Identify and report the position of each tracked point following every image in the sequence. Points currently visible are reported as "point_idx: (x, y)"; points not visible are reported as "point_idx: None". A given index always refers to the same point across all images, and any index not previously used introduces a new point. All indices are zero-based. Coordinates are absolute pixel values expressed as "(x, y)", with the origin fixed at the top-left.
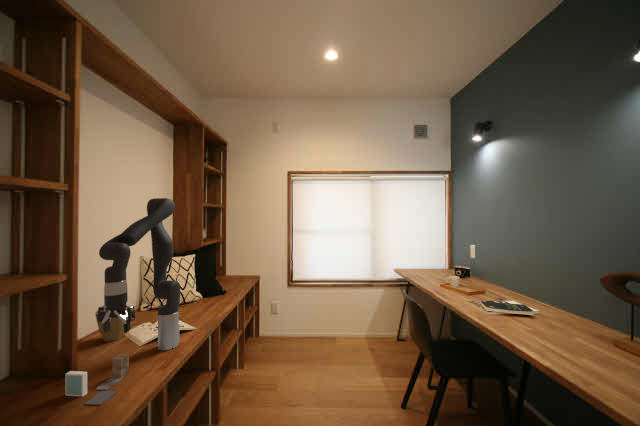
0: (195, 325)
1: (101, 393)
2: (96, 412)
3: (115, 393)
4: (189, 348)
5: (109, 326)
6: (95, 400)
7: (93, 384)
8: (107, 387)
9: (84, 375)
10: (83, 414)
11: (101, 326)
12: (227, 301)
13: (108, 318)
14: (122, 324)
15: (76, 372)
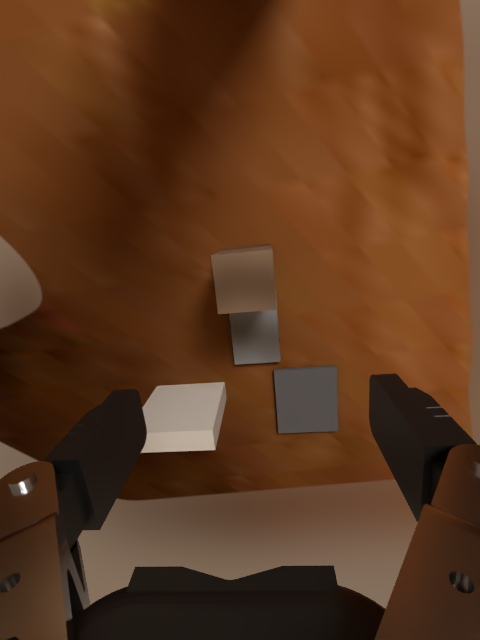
0: None
1: (285, 384)
2: (355, 454)
3: (336, 372)
4: None
5: (116, 425)
6: (301, 417)
7: (190, 335)
8: (277, 355)
9: (216, 437)
10: (321, 464)
11: None
12: None
13: (84, 598)
14: None
15: (167, 439)
